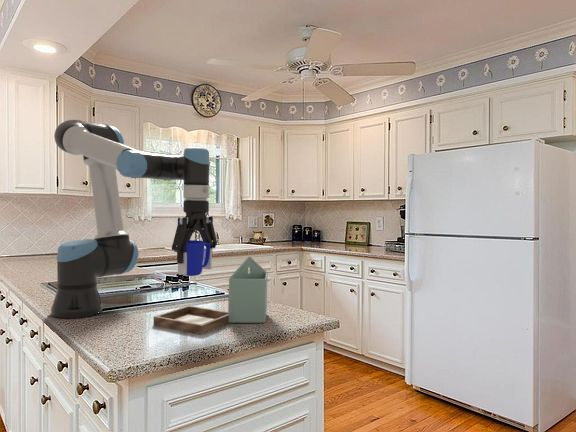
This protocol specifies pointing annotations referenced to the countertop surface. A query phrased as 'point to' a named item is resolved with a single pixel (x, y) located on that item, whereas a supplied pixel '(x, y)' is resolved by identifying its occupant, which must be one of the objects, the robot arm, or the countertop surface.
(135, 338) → the countertop surface
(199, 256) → the mug
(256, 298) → the planter
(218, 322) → the brown wooden tray
